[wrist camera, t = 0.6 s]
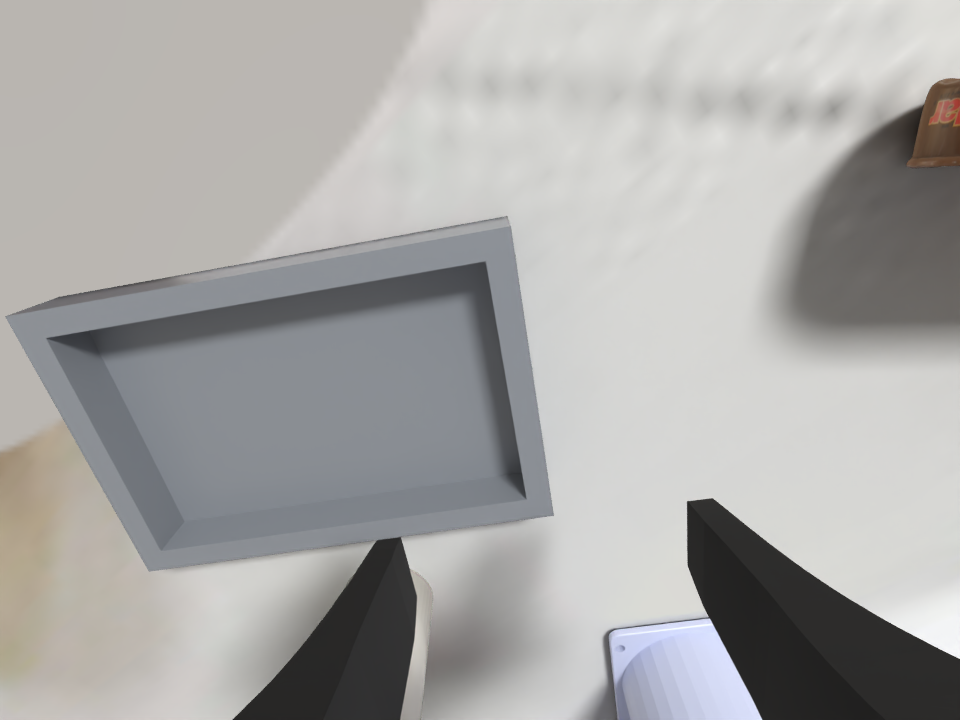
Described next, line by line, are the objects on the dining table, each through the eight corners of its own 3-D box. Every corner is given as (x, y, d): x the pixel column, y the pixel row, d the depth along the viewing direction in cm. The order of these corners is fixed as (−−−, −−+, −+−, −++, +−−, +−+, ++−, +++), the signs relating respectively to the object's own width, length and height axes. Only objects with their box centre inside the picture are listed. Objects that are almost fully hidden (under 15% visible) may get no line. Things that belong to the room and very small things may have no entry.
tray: (546, 479, 24) (553, 515, 21) (179, 531, 25) (148, 571, 23) (507, 216, 19) (510, 226, 17) (59, 297, 20) (5, 316, 18)
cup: (441, 623, 27) (428, 773, 21) (358, 634, 28) (320, 784, 21) (422, 558, 26) (403, 699, 19) (334, 570, 26) (284, 713, 19)
